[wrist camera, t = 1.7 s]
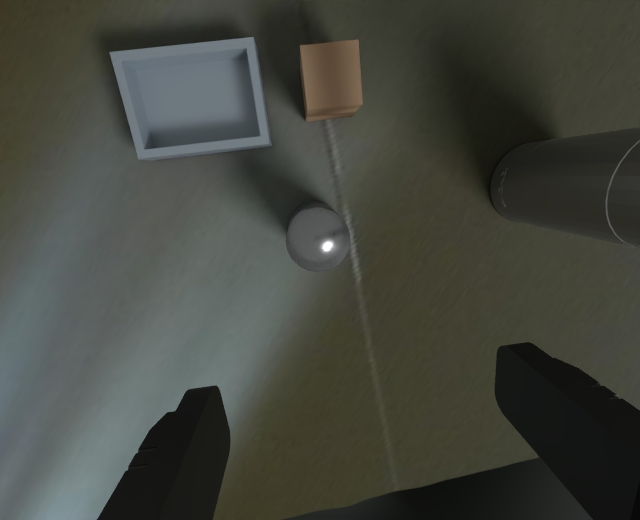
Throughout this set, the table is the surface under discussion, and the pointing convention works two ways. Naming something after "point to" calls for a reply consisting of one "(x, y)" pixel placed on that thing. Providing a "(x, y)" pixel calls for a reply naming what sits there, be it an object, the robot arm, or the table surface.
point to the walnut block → (331, 79)
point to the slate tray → (193, 98)
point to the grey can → (317, 237)
